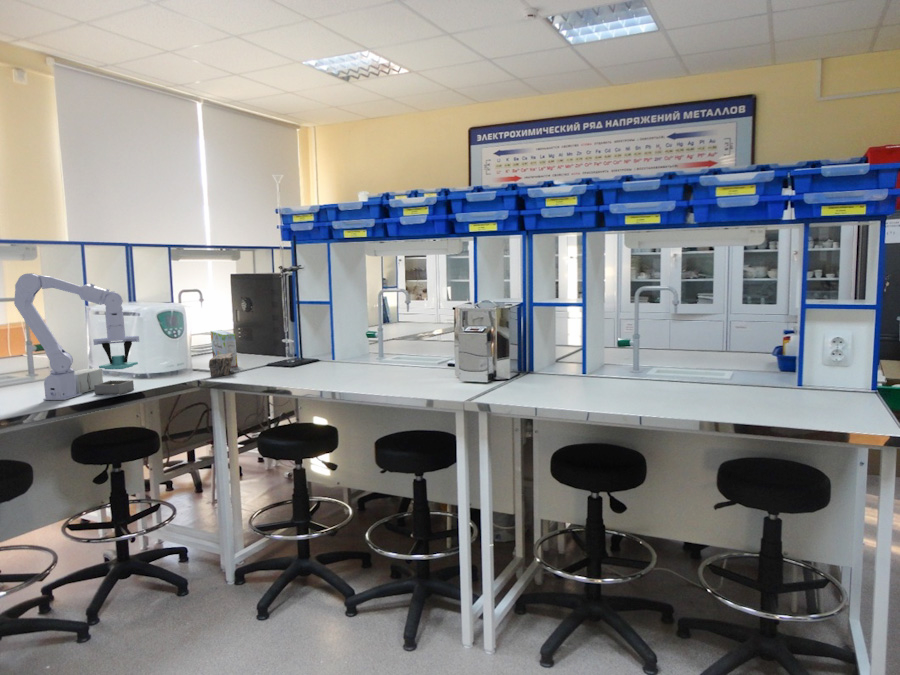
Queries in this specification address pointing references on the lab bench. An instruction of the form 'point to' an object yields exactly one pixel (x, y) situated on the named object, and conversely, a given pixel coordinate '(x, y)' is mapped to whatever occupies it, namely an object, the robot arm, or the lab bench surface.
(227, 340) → the snack box
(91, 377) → the supplement box
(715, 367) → the lab bench surface
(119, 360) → the lid
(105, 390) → the box
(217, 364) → the stone block
